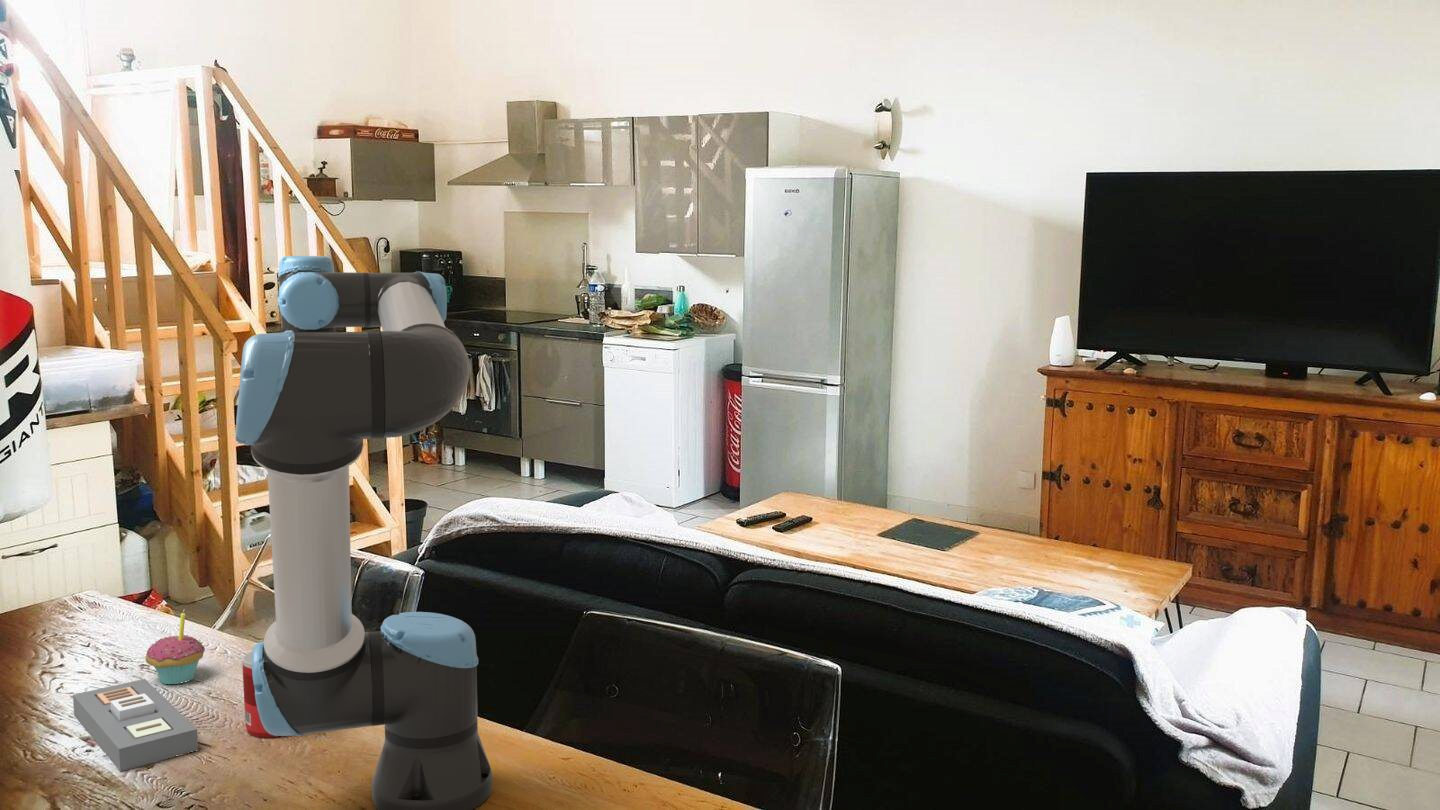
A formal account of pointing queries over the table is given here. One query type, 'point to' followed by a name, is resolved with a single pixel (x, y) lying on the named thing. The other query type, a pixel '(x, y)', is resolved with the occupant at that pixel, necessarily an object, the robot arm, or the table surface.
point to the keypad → (114, 733)
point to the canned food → (251, 701)
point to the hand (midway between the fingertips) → (315, 520)
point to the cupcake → (175, 656)
